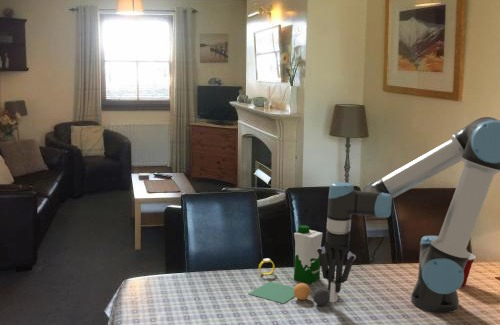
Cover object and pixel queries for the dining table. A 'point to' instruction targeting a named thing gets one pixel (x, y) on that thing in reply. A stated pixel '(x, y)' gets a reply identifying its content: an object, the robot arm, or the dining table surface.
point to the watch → (266, 262)
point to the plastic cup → (468, 268)
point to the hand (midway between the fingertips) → (333, 300)
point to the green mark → (274, 292)
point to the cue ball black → (321, 296)
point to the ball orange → (301, 291)
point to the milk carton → (307, 255)
